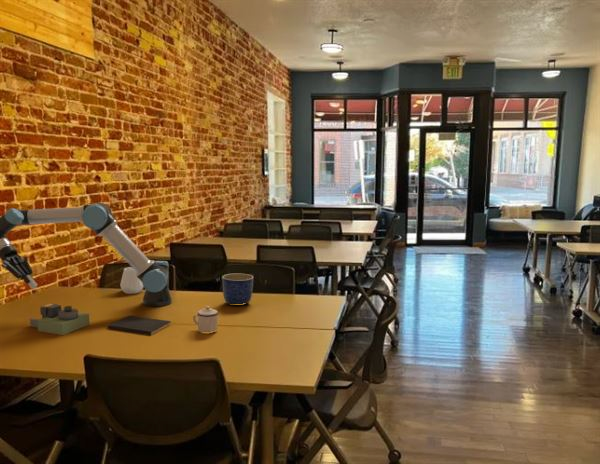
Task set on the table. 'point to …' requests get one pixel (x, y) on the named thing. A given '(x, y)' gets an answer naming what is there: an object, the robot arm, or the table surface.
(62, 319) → the flat slab with knob
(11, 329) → the table surface
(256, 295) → the table surface
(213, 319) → the teacup with lid
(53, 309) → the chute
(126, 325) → the hardcover book
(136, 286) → the cup
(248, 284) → the planter
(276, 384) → the table surface
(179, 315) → the table surface
